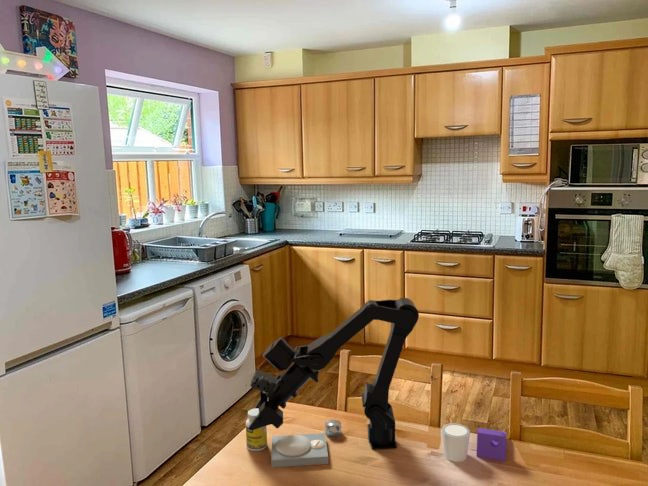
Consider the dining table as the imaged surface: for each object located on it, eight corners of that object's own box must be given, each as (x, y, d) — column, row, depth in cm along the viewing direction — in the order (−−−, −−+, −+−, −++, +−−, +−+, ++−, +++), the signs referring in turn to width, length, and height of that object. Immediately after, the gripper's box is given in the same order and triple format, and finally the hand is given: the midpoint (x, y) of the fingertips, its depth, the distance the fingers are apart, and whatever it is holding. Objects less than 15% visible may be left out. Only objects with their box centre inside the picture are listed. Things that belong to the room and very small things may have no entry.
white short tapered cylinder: (474, 454, 133) (475, 429, 132) (460, 467, 128) (461, 440, 127) (450, 444, 138) (450, 420, 137) (436, 456, 133) (436, 430, 132)
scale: (324, 439, 142) (324, 430, 141) (328, 463, 131) (328, 454, 131) (272, 443, 141) (272, 434, 140) (271, 467, 130) (271, 457, 130)
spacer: (340, 429, 147) (340, 419, 147) (342, 437, 143) (341, 427, 142) (324, 429, 147) (324, 419, 146) (325, 438, 143) (325, 428, 142)
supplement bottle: (243, 450, 138) (241, 415, 136) (251, 439, 143) (249, 405, 141) (263, 453, 136) (261, 417, 135) (270, 441, 142) (268, 407, 140)
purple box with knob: (505, 462, 130) (506, 436, 129) (476, 457, 133) (477, 432, 131) (505, 437, 142) (506, 413, 140) (479, 433, 144) (479, 409, 143)
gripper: (269, 348, 145) (230, 388, 146) (267, 377, 127) (223, 422, 128) (299, 373, 147) (260, 413, 148) (301, 405, 129) (257, 450, 130)
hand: (250, 423), depth 138 cm, fingers open, 6 cm apart
